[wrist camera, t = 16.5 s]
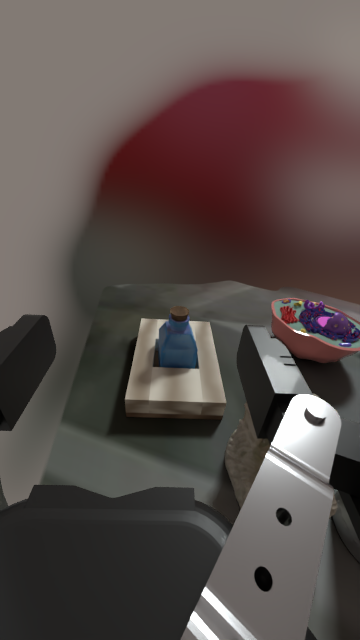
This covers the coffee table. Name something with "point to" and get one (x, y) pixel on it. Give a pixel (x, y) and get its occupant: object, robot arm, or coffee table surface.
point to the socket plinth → (174, 379)
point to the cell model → (314, 330)
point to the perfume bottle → (177, 341)
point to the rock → (249, 458)
